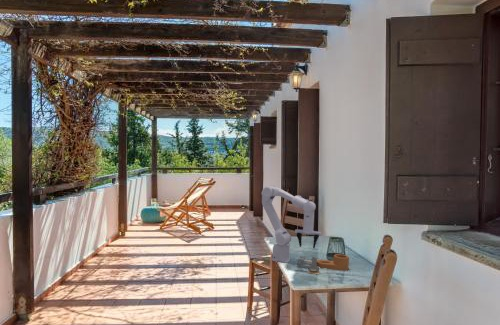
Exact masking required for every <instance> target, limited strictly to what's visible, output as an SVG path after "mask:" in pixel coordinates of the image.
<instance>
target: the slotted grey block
mask: <svg viewBox="0 0 500 325" xmlns="http://www.w3.org/2000/svg"><path fill="white" fill-rule="evenodd" d="M317 259H318V257H315V256H312V257H311V261H312V265H309V269H308V270H309V271H308V270H307V272H311V271H312V270H316V273H319V271H320V268H319V266H317ZM319 274H320V273H319Z"/></svg>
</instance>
